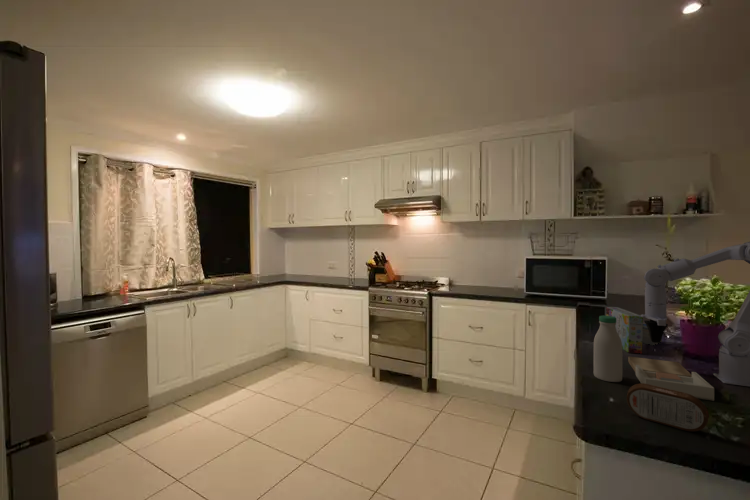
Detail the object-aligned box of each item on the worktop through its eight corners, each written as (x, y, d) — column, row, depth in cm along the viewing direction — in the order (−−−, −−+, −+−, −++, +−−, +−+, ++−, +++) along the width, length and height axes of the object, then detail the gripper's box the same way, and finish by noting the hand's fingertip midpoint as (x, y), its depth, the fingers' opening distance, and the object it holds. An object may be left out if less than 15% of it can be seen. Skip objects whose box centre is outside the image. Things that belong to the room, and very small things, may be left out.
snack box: (644, 354, 132) (644, 316, 131) (627, 353, 133) (627, 315, 133) (618, 339, 152) (618, 306, 152) (604, 338, 154) (604, 306, 153)
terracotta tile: (676, 380, 105) (676, 374, 105) (682, 386, 100) (682, 380, 100) (655, 378, 107) (655, 371, 107) (660, 383, 103) (660, 377, 103)
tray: (695, 383, 104) (695, 372, 104) (714, 400, 92) (714, 388, 92) (635, 375, 111) (635, 364, 111) (645, 390, 99) (645, 378, 99)
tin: (708, 433, 77) (708, 396, 77) (709, 438, 75) (709, 401, 74) (627, 410, 87) (627, 378, 87) (625, 415, 85) (625, 382, 85)
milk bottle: (627, 383, 104) (627, 319, 104) (599, 381, 106) (599, 318, 105) (615, 374, 112) (615, 314, 111) (589, 372, 113) (589, 313, 113)
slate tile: (681, 387, 100) (681, 380, 100) (688, 393, 96) (688, 386, 96) (660, 383, 103) (660, 377, 103) (665, 390, 98) (665, 383, 98)
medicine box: (650, 340, 150) (650, 321, 150) (662, 343, 146) (662, 323, 146) (641, 343, 146) (641, 323, 146) (654, 345, 142) (654, 325, 142)
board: (677, 367, 117) (677, 362, 117) (693, 382, 104) (693, 376, 104) (628, 361, 123) (628, 356, 123) (637, 375, 111) (637, 369, 111)
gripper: (636, 299, 124) (636, 335, 125) (646, 305, 111) (646, 346, 112) (660, 300, 121) (660, 337, 121) (674, 307, 108) (674, 349, 108)
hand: (655, 342), depth 116 cm, fingers closed
